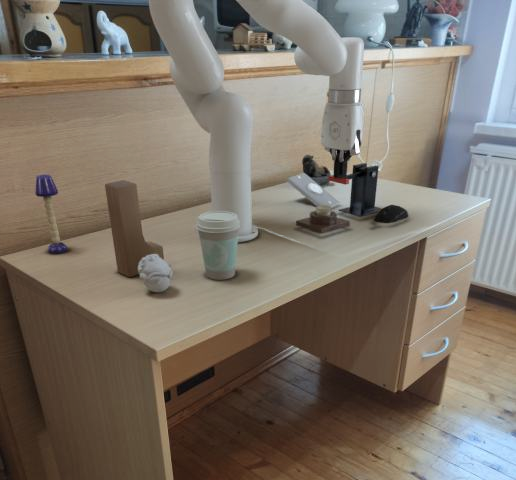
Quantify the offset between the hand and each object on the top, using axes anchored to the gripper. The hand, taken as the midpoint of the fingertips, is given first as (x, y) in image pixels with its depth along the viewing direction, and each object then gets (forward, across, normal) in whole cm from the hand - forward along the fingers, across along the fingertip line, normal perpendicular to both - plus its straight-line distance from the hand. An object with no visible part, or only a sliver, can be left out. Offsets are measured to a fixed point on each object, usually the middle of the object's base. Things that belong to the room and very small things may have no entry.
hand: (339, 177), depth 135 cm
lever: (+2, 0, +5) cm, 5 cm away
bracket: (+11, 0, +10) cm, 15 cm away
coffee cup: (+11, +11, -46) cm, 48 cm away
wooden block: (+11, -2, -56) cm, 58 cm away
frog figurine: (+11, +10, -60) cm, 61 cm away
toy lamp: (+11, -25, -66) cm, 71 cm away
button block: (+11, +3, -8) cm, 14 cm away
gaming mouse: (+12, +10, +9) cm, 17 cm away
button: (+8, +3, -8) cm, 12 cm away
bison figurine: (+12, -32, +24) cm, 41 cm away
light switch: (+11, -15, +6) cm, 20 cm away
